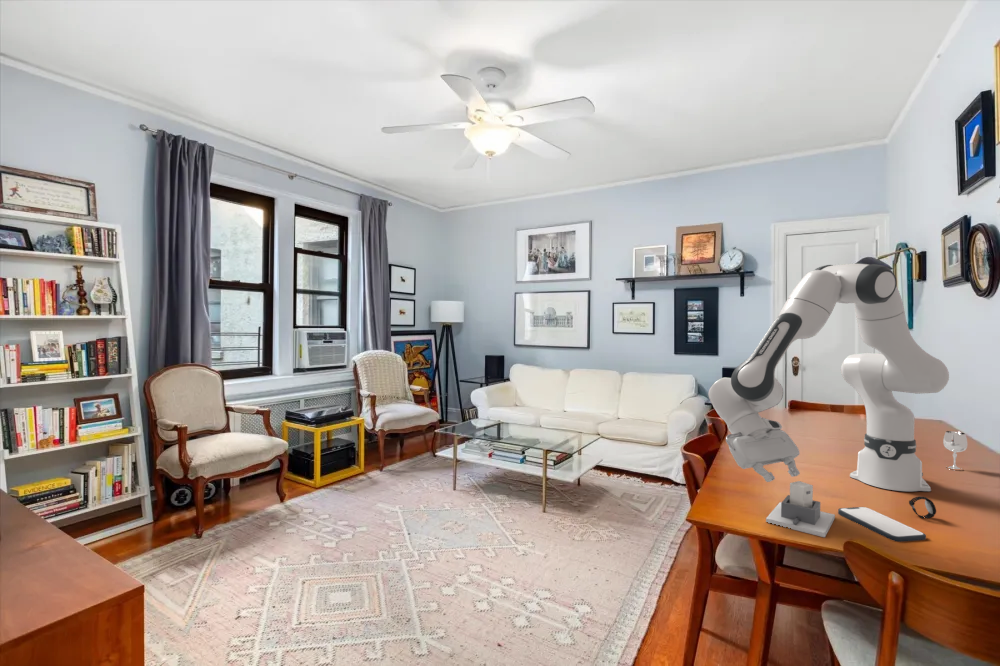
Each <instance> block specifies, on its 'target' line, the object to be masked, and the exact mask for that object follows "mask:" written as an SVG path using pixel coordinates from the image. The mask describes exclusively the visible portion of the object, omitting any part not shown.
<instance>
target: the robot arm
mask: <svg viewBox="0 0 1000 666" xmlns="http://www.w3.org/2000/svg"><path fill="white" fill-rule="evenodd" d="M897 282H898V281H897V277H896V275H895V273H894V272H893V271H892V269H891V268H889V267H888V266H885V265H882V264H876V263H875V264H874V263H871V264H867V263H845V264H835V265H834V264H826V265H821V266H819V267H816V268H815V269H814V270H811V271H809V272H807V273H806V274H805V275H803V277H802V278H801V279H800V280H799V282H798V283H797V284H796V286H795V287H794V288H793V290H792V291H791V292H790V294H789V295H788V298H787V300H786V301H785V303H784V305H783V306H782V308H781V310H780V312H779V313H778V316H777V317H776V319H775V320H774V322H772V324H771V325H770V327H769V328H768V329H767V331H766V332H765V334H764V335H763V337H762V339H761V340H760V341H759V343H758V344H757V346H756V348H755V349H754V351H753V352H752V353H751V355H749V357H748V358H746V359H745V360H744V361H742V362H741V363H740V364H739V365H738V366H736V367H735V368H734V370H733V372H732V374H731V377H720V378H719V379H717V380H716V381H714V382H713V383H712V385H710V388H709V389H708V394H707V395H708V398H709V401H710V403H711V405H712V407H713V409H714V410H715V411H716V413H717V415H718V416H719V417H720V418H721V420H723V421H724V422H725V424H726V425H727V429H728V430H729V432H730V433H729V434H727V435H726V437H725V443H727V445H728V448H729V449H728V450H729V452H730V453H731V456H732V457H733V460H735V462H736V464H737V466H738V467H740V468H741V469H743V470H745V469H751V468H752V469H753V470H754V472H756V473H757V474H758V475H760V476H761V477H763V479H764V481H765V482H766V483H771V482H773V481H774V480H775V476H774V474H773V472H771V471H768V470H767V469H766V468H764V466H766V465H767V466H768V465H772V464H773V465H774V464H777V463H783V464H784V465H785V466H787V468H788V471H787V473H788V474H789V476H790V477H798V476H799V475H800V473H801V472H800V471H799V469H798V468H797V466H796V460H795V458H797V457H798V456H799V455H800V450H799V447H798V446H797V445H796V443H795V442H794V441H793V439H792V438H791V436H790V435H789V434H788V433H787V432H786V431H785V430H782V429H783V426H782V424H781V423H780V422H778V421H777V420H772V419H768V418H766V417H762V416H761V415H760V414H759V413H762V412H765V411H767V410H769V409H771V408H774V407H776V406H777V405H778V404H780V403H781V401H782V399H783V397H784V388H783V386H782V384H781V383H780V382H779V380H778V379H777V378H776V377H775V376H776V375H775V372H776V368H777V366H778V364H779V363H780V361H781V360H782V358H783V356H784V355H785V354H786V352H787V350H788V349H789V348H790V346H791V345H792V344H793V342H795V341H796V340H803V339H804V340H805V339H810V338H813V337H815V336H817V334H818V333H819V332H820V331H821V330H822V329H823V327H824V326H825V324H826V323H827V321H828V320H829V318H830V317H831V314H832V312H833V311H834V308H835V307H836V305H837V303H839V304H854V311H855V316H856V317H855V318H856V321H857V322H856V323H857V327H858V331H859V336H860V339H861V340H862V342H863V343H864V344H865V345H867V346H869V347H870V348H873V349H875V350H877V351H878V352H879V353H876V352H863V353H853V354H849V355H847V356H846V358H844V360H843V361H842V362H841V367H840V373H841V376H842V379H843V380H844V381H845V382H846V383H847V384H848V385H850V386H851V387H852V388H853V389H854V390H855V391H856V392H857V393H858V395H859V396H860V398H861V400H862V402H863V406H864V408H865V418H866V420H865V421H866V433H865V434H864V438H863V441H864V443H863V444H864V448H862V449H860V451H858V453H857V463H856V465H857V466H856V470H854V471H851V472H850V473H849V477H850V478H852V479H854V480H857V481H860V482H861V483H864V484H867V485H870V486H873V487H877V488H881V489H885V490H890V491H891V490H892V491H898V492H931V491H932V489H931V488H932V487H931V486H930V485H929V484H928V483H927V481H926V480H925V479H924V478H923V476H924V472H923V462H922V460H921V459H920V458H919V457H918V456H917V455H916V452H917V441H916V439H915V417H916V416H915V415H914V413H913V411H912V410H911V409H910V408H909V407H907V406H906V405H904V404H902V403H900V402H899V401H898V400H897V399H896V398H895V396H894V395H893V392H900V393H908V394H921V395H922V394H936V393H939V392H940V391H942V390H944V388H946V386H947V384H948V382H949V380H950V379H949V378H950V372H949V370H948V367H947V365H946V364H945V363H944V362H943V361H942V360H941V359H939V358H936V357H934V356H933V355H931V354H929V353H928V352H927V351H925V350H924V349H923V348H922V347H921V346H920V345H918V343H917V342H916V341H915V338H913V336H912V335H911V332H910V329H909V325H908V321H907V317H906V312H905V308H904V302H903V299H902V297H901V294H900V291H899V289H898V288H899V287H898V286H897Z"/></svg>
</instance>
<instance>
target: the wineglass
mask: <svg viewBox="0 0 1000 666" xmlns="http://www.w3.org/2000/svg"><path fill="white" fill-rule="evenodd" d="M942 442H943V446H944V448H945V449H946V450H949V451H950V452H953V453H952V457H953V465H951V466H949V465H948V466H949V467H948V468H951V469H960V468H961V467H958V466H957V464H956V461H957V460H956V459H957V456H958V454H957V453H962V452H965V451H966V450H967V448H968V438H967V434H966V433H965V432H961V431H954V430H953V431H951V430H947V431H945V432H944V435H943V441H942Z"/></svg>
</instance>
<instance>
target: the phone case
mask: <svg viewBox="0 0 1000 666" xmlns="http://www.w3.org/2000/svg"><path fill="white" fill-rule="evenodd" d="M837 513H838V515H839V516H841V517H843V518H845V519H847V520H848V521H849V520H850V521H852V522H853V523H855V522H856V523H855V524H857V523H858V524H857V525H859V524H860V525H859V526H861V525H862V526H861V527H863V526H864V527H863V528H865V527H866V529H867V528H868V530H870V531H872V532H874V533H876V534H878V535H880V536H882V537H884V538H886V539H889V540H890V541H893V542H897V543H898V542H899V543H901V542H902V543H903V542H914V541H915V542H916V541H926V539H927V534H925V532H924V533H923V532H922V531H920V530H917V529H915V528H914V527H910V526H909V525H906V524H904V523H902V522H901V521H898V520H897V519H894V518H891V517H889V516H887V515H884V514H882V513H880V512H878V511H875V510H874V509H871V508H869V507H865V506H854V507H853V506H852V507H840V508H838V511H837Z"/></svg>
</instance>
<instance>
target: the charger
mask: <svg viewBox="0 0 1000 666" xmlns="http://www.w3.org/2000/svg"><path fill="white" fill-rule="evenodd" d="M813 487H814V485H812V484H810V483H807V482H803V481H799V480H798V481H794V482H793V481H792V482H790V483H789V495H790V504H794V505H799V506H803V507H807V508H812V502H813V499H814V498H813V497H814V495H813V494H814V490H813V489H814V488H813Z"/></svg>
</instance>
